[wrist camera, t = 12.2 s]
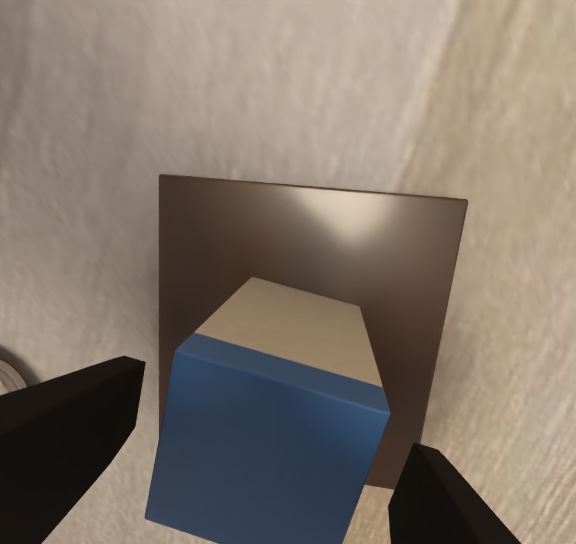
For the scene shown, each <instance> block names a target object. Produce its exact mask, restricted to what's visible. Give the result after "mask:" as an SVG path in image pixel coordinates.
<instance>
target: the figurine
mask: <svg viewBox="0 0 576 544" xmlns="http://www.w3.org/2000/svg"><path fill="white" fill-rule="evenodd" d="M26 387H27V386H26V384H25V382H24V380H23V379H22V377H21V376H20V375H19V374H18V372H17V371H16V370H15V369H14V368H12V367H11V366H10V365H8V364H7V363H6V362H4V361H2V360H0V395H3V394H6V393H9V392H13V391H16V390H19V389H23V388H26Z"/></svg>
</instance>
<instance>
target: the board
mask: <svg viewBox="0 0 576 544" xmlns="http://www.w3.org/2000/svg"><path fill="white" fill-rule="evenodd" d="M467 205H468V200H467V199H457V198H445V197H433V196H421V195H409V194H397V193H385V192H373V191H360V190H348V189H336V188H324V187H312V186H300V185H288V184H275V183H263V182H251V181H239V180H227V179H215V178H203V177H191V176H178V175H166V174H160V175H159V436H160V431H161V425H162V420H163V414H164V409H165V403H166V398H167V392H168V387H169V382H170V376H171V371H172V365H173V360H174V354H175V350H176V349H177V348H178V347H179V346H180V345H181V344H182V343H183V342H184V341H185V340H186V339H187V338H189V337H190V336H191V335H192V334H193V333H194V332H195V331H196V330H197V329H198V328H199V327H200V326H201V325H202V324H203V323H204V322H205V321H206V320H207V319H208V318H209V317H210V316H211V315H212V314H213V313H215V312H216V311H217V310H218V309H219V308H220V307H221V306H222V305H223V304H224V303H225V302H226V301H227V300H228V299H229V298H230V297H231V296H232V295H233V294H234V293H235V292H236V291H237V290H238V289H239V288H241V287H242V286H243V285H244V284H245V283H246V282H247V281H248V280H249V279H250V278H251V277H255V278H259V279H262V280H266V281H269V282H273V283H277V284H280V285H284V286H288V287H291V288H295V289H298V290H302V291H306V292H309V293H313V294H317V295H320V296H324V297H327V298H331V299H335V300H338V301H342V302H346V303H349V304H353V305H356V306H359V307H360V310H361V314H362V317H363V321H364V324H365V328H366V331H367V334H368V338H369V341H370V345H371V348H372V352H373V355H374V359H375V362H376V365H377V369H378V372H379V376H380V379H381V383H382V388H383V390H384V393H385V397H386V400H387V403H388V407H389V410H390V417H389V419H388V422H387V425H386V428H385V430H384V433H383V436H382V438H381V441H380V444H379V446H378V449H377V452H376V454H375V457H374V460H373V462H372V465H371V468H370V471H369V473H368V476H367V479H366V481H365V484H364V485H370V486H376V487H382V488H388V489H393V490H395V488H396V485H397V483H398V480H399V478H400V475H401V473H402V470H403V468H404V465H405V463H406V460H407V458H408V455H409V453H410V450H411V448H412V445H413V443H417V444H420V441H421V436H422V431H423V426H424V421H425V416H426V411H427V406H428V401H429V396H430V391H431V386H432V381H433V376H434V371H435V366H436V361H437V356H438V351H439V346H440V341H441V336H442V331H443V326H444V320H445V315H446V310H447V305H448V300H449V295H450V290H451V285H452V280H453V275H454V270H455V265H456V260H457V255H458V250H459V245H460V240H461V235H462V230H463V225H464V220H465V215H466V210H467Z"/></svg>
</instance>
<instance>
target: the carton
mask: <svg viewBox="0 0 576 544" xmlns="http://www.w3.org/2000/svg"><path fill="white" fill-rule="evenodd" d="M389 417H390V410H389V407H388V403H387V400H386V397H385V393H384V390H383V388H382V383H381V379H380V376H379V372H378V369H377V365H376V362H375V359H374V355H373V352H372V348H371V345H370V341H369V338H368V334H367V331H366V328H365V324H364V321H363V317H362V314H361V310H360V307H359V306H356V305H353V304H349V303H346V302H342V301H338V300H335V299H331V298H327V297H324V296H320V295H317V294H313V293H309V292H306V291H302V290H298V289H295V288H291V287H288V286H284V285H280V284H277V283H273V282H269V281H266V280H262V279H259V278H255V277H251V278H250V279H249V280H248V281H247V282H246V283H245V284H244V285H243V286H242V287H241V288H239V289H238V290H237V291H236V292H235V293H234V294H233V295H232V296H231V297H230V298H229V299H228V300H227V301H226V302H225V303H224V304H223V305H222V306H221V307H220V308H219V309H218V310H217V311H216V312H215V313H213V314H212V315H211V316H210V317H209V318H208V319H207V320H206V321H205V322H204V323H203V324H202V325H201V326H200V327H199V328H198V329H197V330H196V331H195V332H194V333H193V334H192V335H191V336H190V337H189V338H187V339H186V340H185V341H184V342H183V343H182V344H181V345H180V346H179V347H178V348H177V349H176V350H175V354H174V360H173V365H172V371H171V376H170V382H169V387H168V392H167V398H166V403H165V409H164V414H163V420H162V425H161V431H160V436H159V442H158V447H157V453H156V458H155V463H154V469H153V474H152V480H151V485H150V491H149V496H148V502H147V507H146V513H145V519H147V520H150V521H153V522H156V523H159V524H162V525H165V526H168V527H171V528H174V529H177V530H180V531H183V532H186V533H189V534H192V535H195V536H198V537H201V538H204V539H207V540H210V541H213V542H216V543H219V544H342V543H343V541H344V538H345V535H346V532H347V530H348V527H349V524H350V522H351V519H352V516H353V514H354V511H355V508H356V506H357V503H358V500H359V497H360V495H361V492H362V489H363V487H364V484H365V481H366V479H367V476H368V473H369V471H370V468H371V465H372V462H373V460H374V457H375V454H376V452H377V449H378V446H379V444H380V441H381V438H382V436H383V433H384V430H385V428H386V425H387V422H388V419H389Z"/></svg>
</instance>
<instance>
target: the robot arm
mask: <svg viewBox="0 0 576 544" xmlns="http://www.w3.org/2000/svg"><path fill="white" fill-rule="evenodd" d="M145 364H146V362H144V361H140V360H137V359H134V358H130V357H127V356H122V357H118V358H114V359H111V360H108V361H105V362H102V363H99V364H96V365H93V366H90V367H87V368H84V369H81V370H78V371H75V372H72V373H69V374H66V375H63V376H60V377H57V378H54V379H51V380H48V381H45V382H42V383H39V384H36V385H33V386H29V387H26V388H23V389H19V390H16V391H13V392H9V393H6V394H3V395H0V544H41V543H42V542H43V541H44V540H45V539H46V538H47V537H48V535H49V534H50V533H51V532H52V531H53V530H54V528H55V527H56V526H57V525H58V524H59V523H60V521H61V520H62V519H63V518H64V517H65V516H66V515H67V513H68V512H69V511H70V510H71V509H72V508H73V506H74V505H75V504H76V503H77V502H78V501H79V500H80V498H81V497H82V496H83V495H84V494H85V493H86V491H87V490H88V489H89V488H90V487H91V486H92V484H93V483H94V482H95V481H96V480H97V479H98V477H99V476H100V475H101V474H102V473H103V471H104V470H105V469H106V468H107V467H108V465H109V464H110V463H111V462H112V460H113V459H114V457H115V456H116V455H117V453H118V452H119V450H120V449H121V447H122V446H123V445H124V443H125V442H126V440H127V439H128V437H129V436H130V434H131V433H132V431H133V430H134V428H135V426H136V420H137V413H138V407H139V401H140V395H141V389H142V382H143V376H144V370H145ZM388 511H389V525H390V537H391V544H521V543H520V542H519V541H518V539H517V538H516V537H515V536H514V535H513V534H512V533H511V532H510V530H509V529H508V528H507V527H506V526H505V525H504V524H503V523H502V521H501V520H500V519H499V518H498V517H497V516H496V515H495V513H494V512H493V511H492V510H491V509H490V508H489V506H488V505H487V504H486V503H485V502H484V501H483V500H482V498H481V497H480V496H479V495H478V494H477V493H476V491H475V490H474V489H473V488H472V487H471V486H470V485H469V483H468V482H467V481H466V480H465V479H464V478H463V476H462V475H461V474H460V473H459V472H458V471H457V470H456V468H455V467H454V466H453V465H452V464H451V463H450V462H449V461H448V460H447V459H446V457H445V456H444V455H443V454H442V453H441V452H440V451H439V450H437V449H434V448H431V447H427V446H424V445H421V444H417V443H413V445H412V448H411V450H410V453H409V455H408V458H407V460H406V463H405V465H404V468H403V470H402V473H401V475H400V478H399V480H398V483H397V485H396V488H395V490H394V493H393V495H392V498H391V500H390V503H389V505H388Z"/></svg>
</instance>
